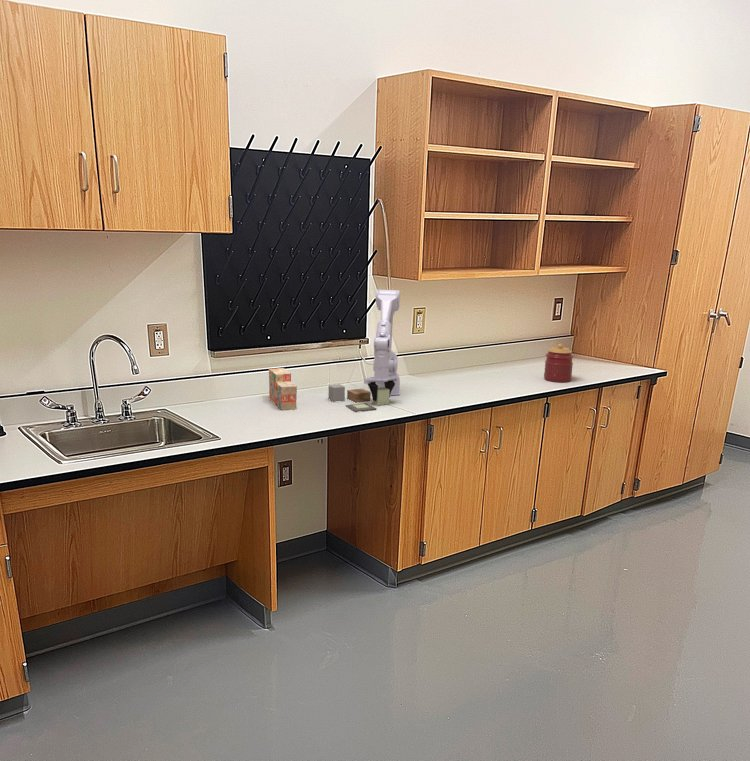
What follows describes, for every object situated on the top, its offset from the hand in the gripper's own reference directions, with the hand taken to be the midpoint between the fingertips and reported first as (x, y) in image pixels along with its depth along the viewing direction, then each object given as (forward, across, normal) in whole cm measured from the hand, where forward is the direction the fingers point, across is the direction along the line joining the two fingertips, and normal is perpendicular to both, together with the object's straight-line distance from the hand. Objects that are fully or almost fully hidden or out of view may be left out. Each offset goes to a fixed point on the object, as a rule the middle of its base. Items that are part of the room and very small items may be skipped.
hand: (380, 399), depth 272 cm
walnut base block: (+2, -6, +8) cm, 10 cm away
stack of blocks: (+2, -36, +15) cm, 39 cm away
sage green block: (+1, 0, 0) cm, 1 cm away
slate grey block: (+2, -14, +11) cm, 18 cm away
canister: (+2, +100, +10) cm, 100 cm away
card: (+2, -11, -4) cm, 11 cm away
